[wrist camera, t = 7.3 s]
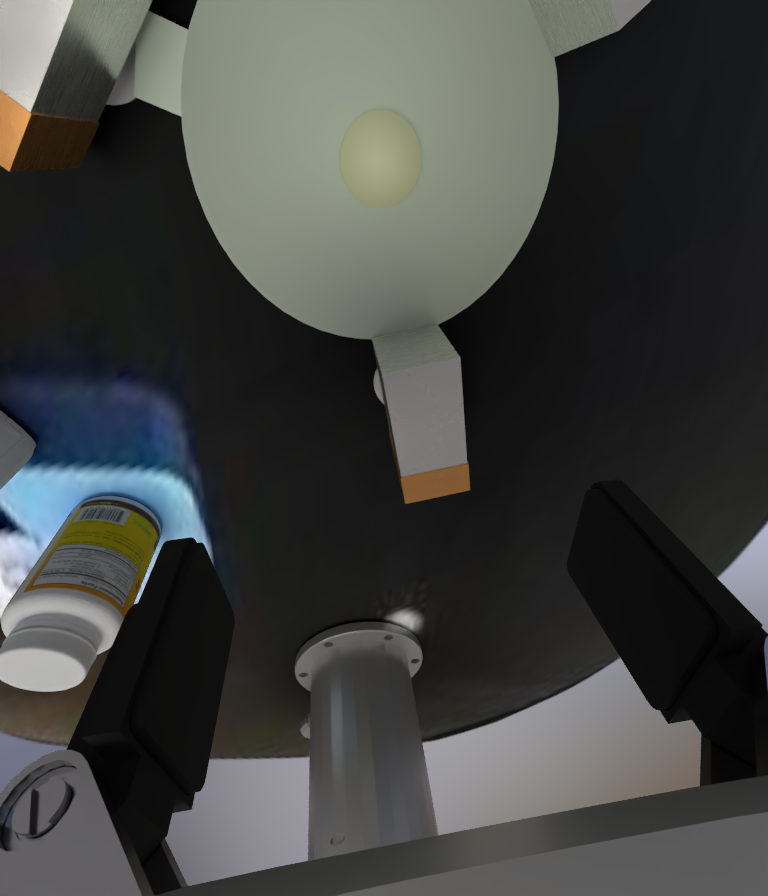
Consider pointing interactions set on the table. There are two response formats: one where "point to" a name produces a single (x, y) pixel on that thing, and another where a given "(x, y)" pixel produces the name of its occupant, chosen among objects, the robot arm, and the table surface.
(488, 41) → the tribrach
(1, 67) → the orange-tipped grey block
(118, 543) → the supplement bottle
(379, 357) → the white and orange block
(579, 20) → the orange-tipped eraser
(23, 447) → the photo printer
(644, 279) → the table surface
